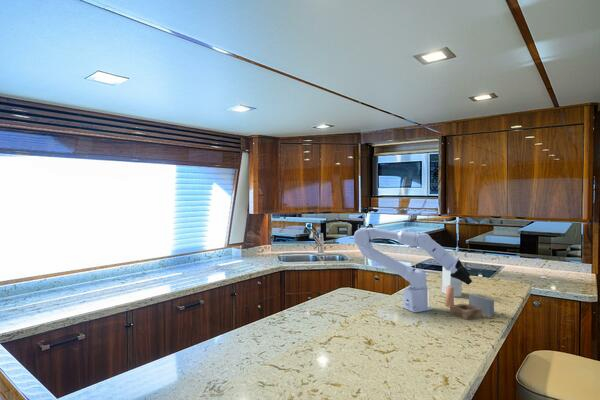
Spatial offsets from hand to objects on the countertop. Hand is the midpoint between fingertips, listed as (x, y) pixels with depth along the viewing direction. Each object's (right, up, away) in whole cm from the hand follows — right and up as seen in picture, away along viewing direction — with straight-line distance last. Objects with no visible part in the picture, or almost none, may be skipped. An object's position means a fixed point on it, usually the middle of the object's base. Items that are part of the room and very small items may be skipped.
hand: (469, 280), depth 143 cm
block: (-3, -13, -3) cm, 14 cm away
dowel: (-4, -13, +8) cm, 16 cm away
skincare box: (+4, -13, +26) cm, 29 cm away
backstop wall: (+5, -13, 0) cm, 14 cm away
